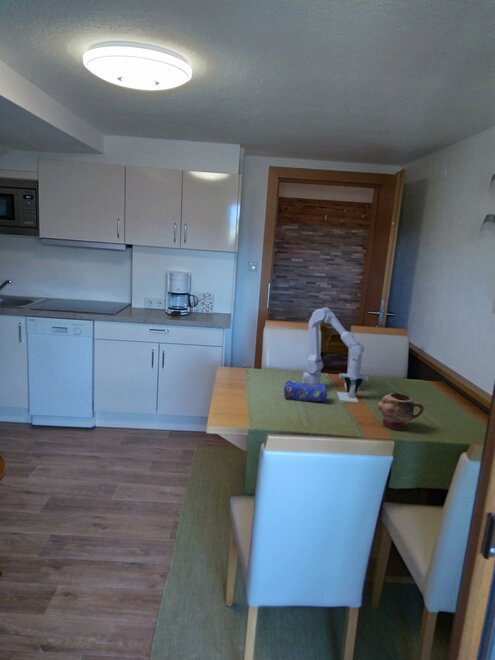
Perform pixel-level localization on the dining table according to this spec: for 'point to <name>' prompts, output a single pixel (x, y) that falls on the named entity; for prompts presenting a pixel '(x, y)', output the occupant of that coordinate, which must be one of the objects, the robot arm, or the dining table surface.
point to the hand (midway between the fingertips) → (351, 392)
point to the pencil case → (305, 391)
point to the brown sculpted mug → (398, 410)
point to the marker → (352, 388)
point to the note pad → (346, 397)
